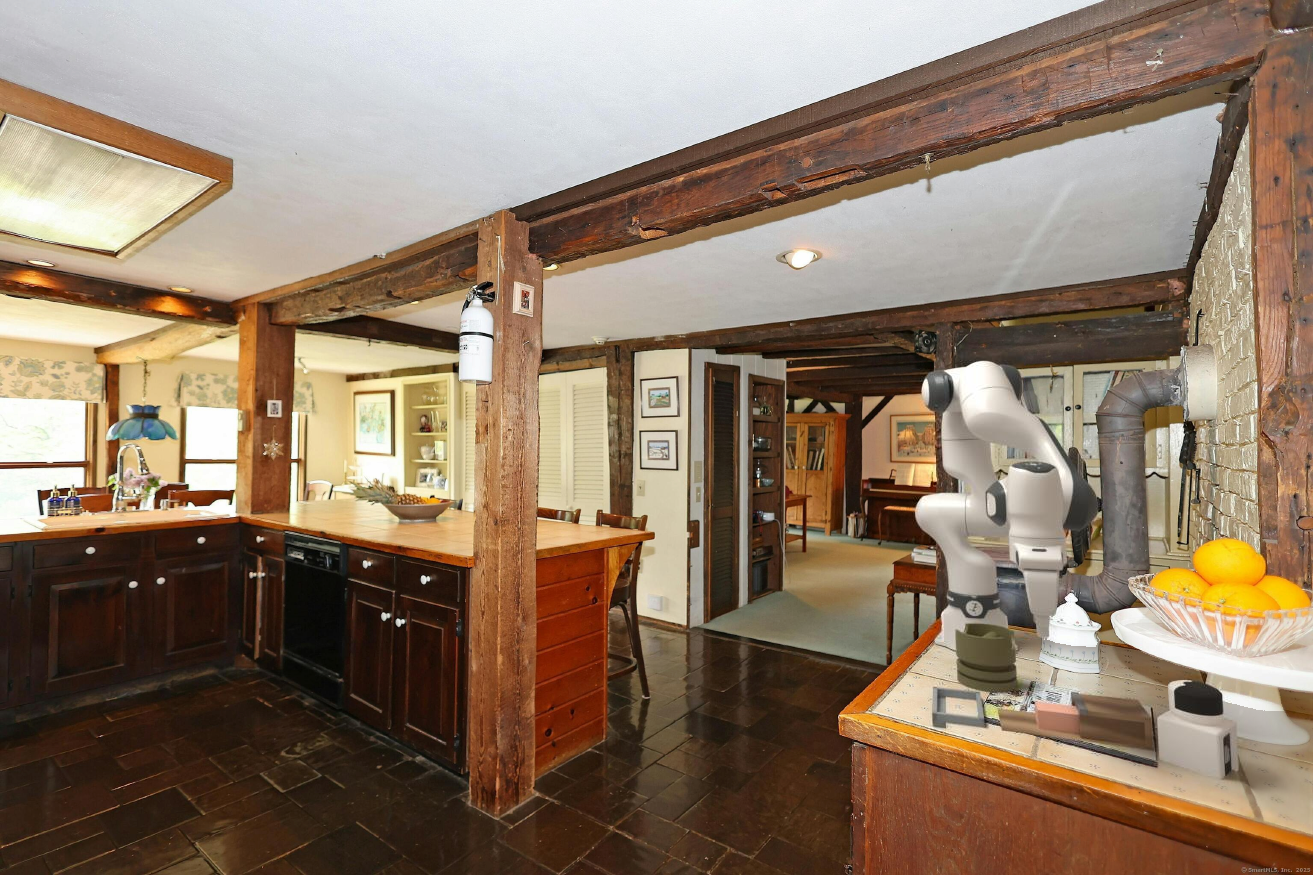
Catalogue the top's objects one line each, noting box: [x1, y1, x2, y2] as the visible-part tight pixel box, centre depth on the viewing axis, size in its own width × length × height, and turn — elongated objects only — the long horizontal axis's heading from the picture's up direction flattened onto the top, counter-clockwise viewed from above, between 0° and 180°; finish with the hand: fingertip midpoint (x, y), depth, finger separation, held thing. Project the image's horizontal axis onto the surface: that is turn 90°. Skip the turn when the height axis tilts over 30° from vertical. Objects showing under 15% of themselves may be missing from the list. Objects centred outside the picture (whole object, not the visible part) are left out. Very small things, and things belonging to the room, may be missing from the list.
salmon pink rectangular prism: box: [1034, 701, 1079, 733], centre depth 112 cm, size 4×10×3 cm, turn 66°
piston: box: [955, 623, 1018, 694], centre depth 134 cm, size 11×12×11 cm
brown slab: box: [996, 691, 1156, 751], centre depth 112 cm, size 10×22×6 cm, turn 66°
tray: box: [931, 686, 986, 729], centre depth 121 cm, size 14×9×2 cm, turn 156°
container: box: [1156, 679, 1240, 780], centre depth 99 cm, size 8×8×13 cm
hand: (1041, 629), depth 113 cm, fingers open, 8 cm apart
